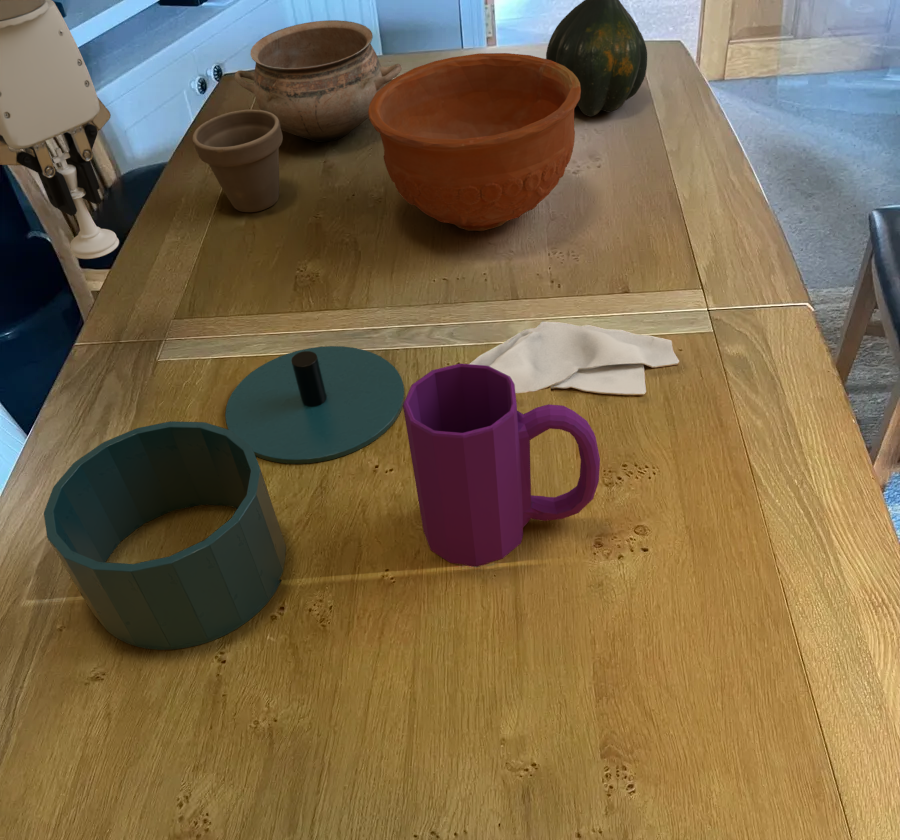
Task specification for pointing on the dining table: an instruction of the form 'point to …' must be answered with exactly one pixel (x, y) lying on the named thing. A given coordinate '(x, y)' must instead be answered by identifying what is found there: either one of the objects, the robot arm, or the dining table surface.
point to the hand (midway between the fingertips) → (78, 204)
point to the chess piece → (84, 217)
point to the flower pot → (243, 156)
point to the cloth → (579, 358)
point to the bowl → (477, 135)
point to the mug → (485, 462)
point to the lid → (315, 404)
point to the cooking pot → (317, 77)
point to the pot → (152, 495)
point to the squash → (600, 53)
